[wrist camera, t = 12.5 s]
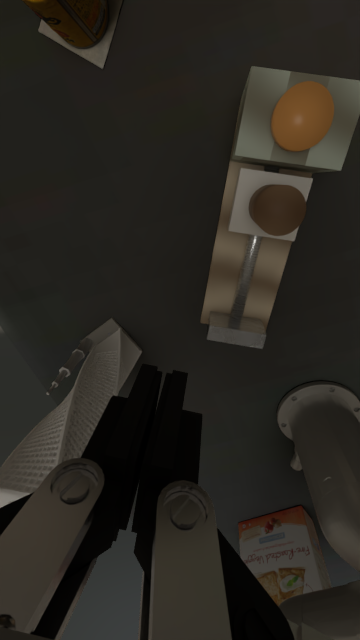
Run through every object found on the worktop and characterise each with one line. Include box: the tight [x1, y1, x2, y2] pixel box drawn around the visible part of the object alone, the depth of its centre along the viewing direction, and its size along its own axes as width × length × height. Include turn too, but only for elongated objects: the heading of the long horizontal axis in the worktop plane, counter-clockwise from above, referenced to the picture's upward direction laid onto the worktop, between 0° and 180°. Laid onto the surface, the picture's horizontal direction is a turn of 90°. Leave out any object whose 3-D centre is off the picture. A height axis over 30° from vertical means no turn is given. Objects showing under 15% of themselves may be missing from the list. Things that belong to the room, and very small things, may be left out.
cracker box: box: [239, 505, 332, 606], centre depth 50 cm, size 14×6×21 cm, turn 125°
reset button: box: [271, 81, 334, 152], centre depth 24 cm, size 4×4×3 cm
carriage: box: [228, 168, 313, 241], centre depth 29 cm, size 6×7×10 cm
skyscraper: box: [0, 317, 143, 508], centre depth 33 cm, size 8×8×28 cm
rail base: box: [200, 66, 360, 349], centre depth 32 cm, size 26×9×10 cm, turn 172°
